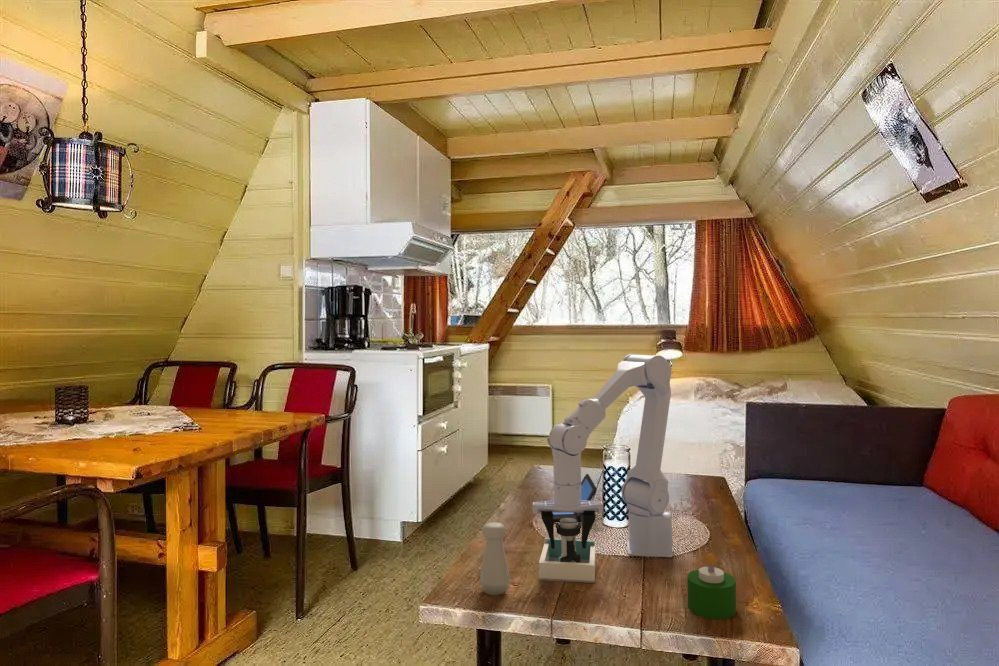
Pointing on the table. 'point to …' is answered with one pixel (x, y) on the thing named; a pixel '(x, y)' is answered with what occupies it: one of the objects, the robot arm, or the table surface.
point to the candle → (711, 592)
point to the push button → (568, 539)
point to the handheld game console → (586, 494)
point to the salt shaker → (494, 560)
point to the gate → (579, 550)
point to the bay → (566, 568)
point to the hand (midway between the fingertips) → (568, 546)
